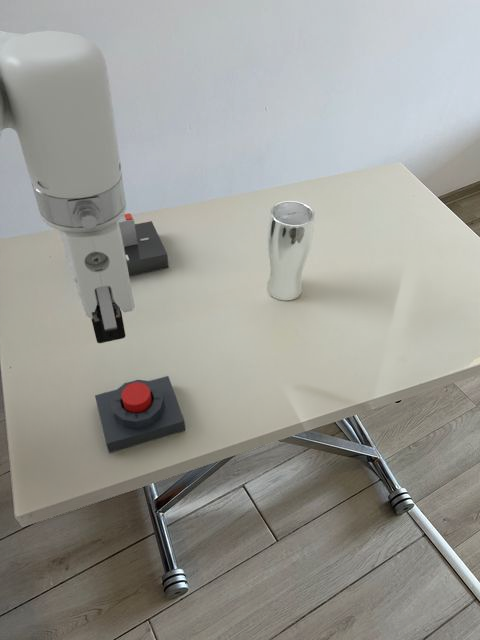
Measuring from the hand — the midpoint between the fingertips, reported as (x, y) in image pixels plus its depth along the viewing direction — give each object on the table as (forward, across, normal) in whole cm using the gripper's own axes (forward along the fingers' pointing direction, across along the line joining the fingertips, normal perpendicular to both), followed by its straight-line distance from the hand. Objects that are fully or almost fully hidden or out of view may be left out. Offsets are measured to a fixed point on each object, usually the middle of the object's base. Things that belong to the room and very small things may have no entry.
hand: (110, 335), depth 61 cm
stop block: (+15, -2, -2) cm, 15 cm away
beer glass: (+14, +16, -30) cm, 37 cm away
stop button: (+11, -2, -2) cm, 12 cm away
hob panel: (+15, +32, -6) cm, 36 cm away
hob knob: (+12, +32, -6) cm, 35 cm away
